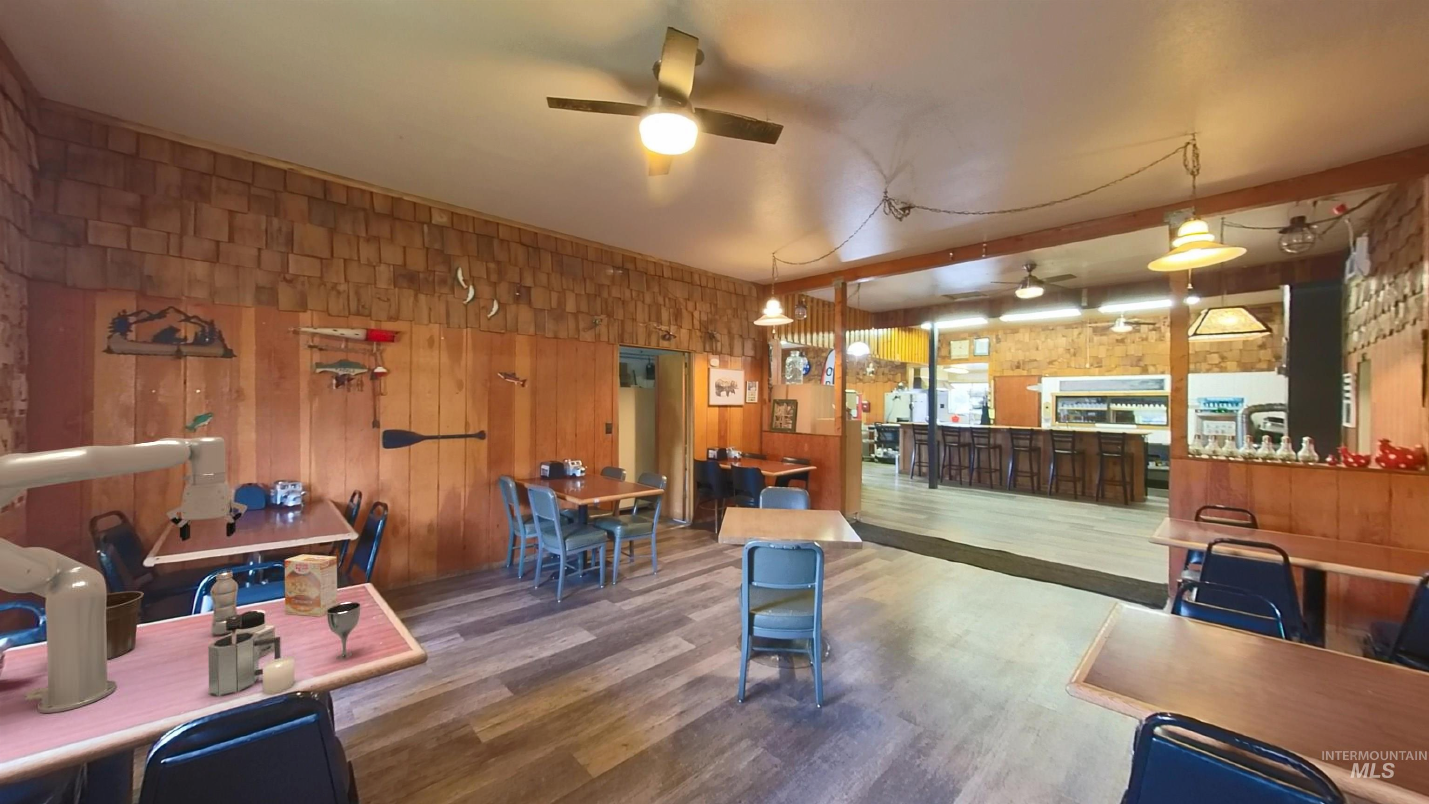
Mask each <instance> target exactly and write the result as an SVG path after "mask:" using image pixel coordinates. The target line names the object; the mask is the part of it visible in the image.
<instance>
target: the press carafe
mask: <svg viewBox="0 0 1429 804" xmlns="http://www.w3.org/2000/svg"><path fill="white" fill-rule="evenodd" d="M229 634H230V635H229ZM229 634H228V635H226V636H222V637H219V638H217V639H215V640H213V641H212V642H211V643H210V645H208V649H207V650H208V695H210V696H211V697H217V698H219V697H226V696H227V697H228V696H231V695H236V694H239V693H241V692H244V691H246V690H248V689H250V688H252V687H253V686H255V685H256V684H257V683H258V682H259V679H260V676H263V668H261V669H259V668H260V667H259V666H260V664H259V663H260V662H259V661H260V660H259V659H260V658H259V656H258V646H260V645H265V644H271V643H274V651H273V653H274V655H273V656H274V660H275V659H278V658H282V657H281V654H282V653H281V650H282V649H281V636H277V637H276V636H275V638H269V639H263V640H258V633H255V632H251V631H248V632H241V633H236V645H232V634H231V633H229Z"/></svg>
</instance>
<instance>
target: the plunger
mask: <svg viewBox="0 0 1429 804" xmlns="http://www.w3.org/2000/svg"><path fill="white" fill-rule="evenodd" d="M241 627H242V622H241V614H237V615H232V616H229V617H227V618H226V630H227V631H232V632H231V633H232V645H236V631H237V629H239V628H241Z"/></svg>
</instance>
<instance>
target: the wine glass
mask: <svg viewBox="0 0 1429 804" xmlns="http://www.w3.org/2000/svg"><path fill="white" fill-rule="evenodd" d="M360 614H361V603H360V602H356V601H355V602H354V601H350V602H349V601H348V602H343V603H339V604H337V605H335V606H333V607H331V608H329V609H328V610H327V614H326V616H327V617H326V618H327V619H326V620H327V623H328V627H329V629H330V631H331V632H332V633H333V634H335V635H337V636H338V637H339V639H340V640H341V646H342V653H341V654H339V655H338V656H336V659H337V660H344V659H347V658H349V657H351V656H352V655H353V653H352V652H347V641H348V637H349V636H350V634H351V632H353V630H354V629H355V628H356V626H357V625H358V623H359V620H360Z"/></svg>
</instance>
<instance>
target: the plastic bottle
mask: <svg viewBox="0 0 1429 804" xmlns="http://www.w3.org/2000/svg"><path fill="white" fill-rule="evenodd" d="M215 580H216V582H214V584H213V585H212V586H211V589H210V592H209V593H210V596H211V600H212V608H213V615H212V621H211V626H210V629H211V633H212V634H213V635H216V636H221V635H222V636H223V635H226V634H231V633H232V631H227V630H226V618H227V617H229V616H232V615H238V610H237V597H238V590H239V584H238V582H236V580H234V579H233V570H224V571H218V572H217V573H216V577H215Z"/></svg>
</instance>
